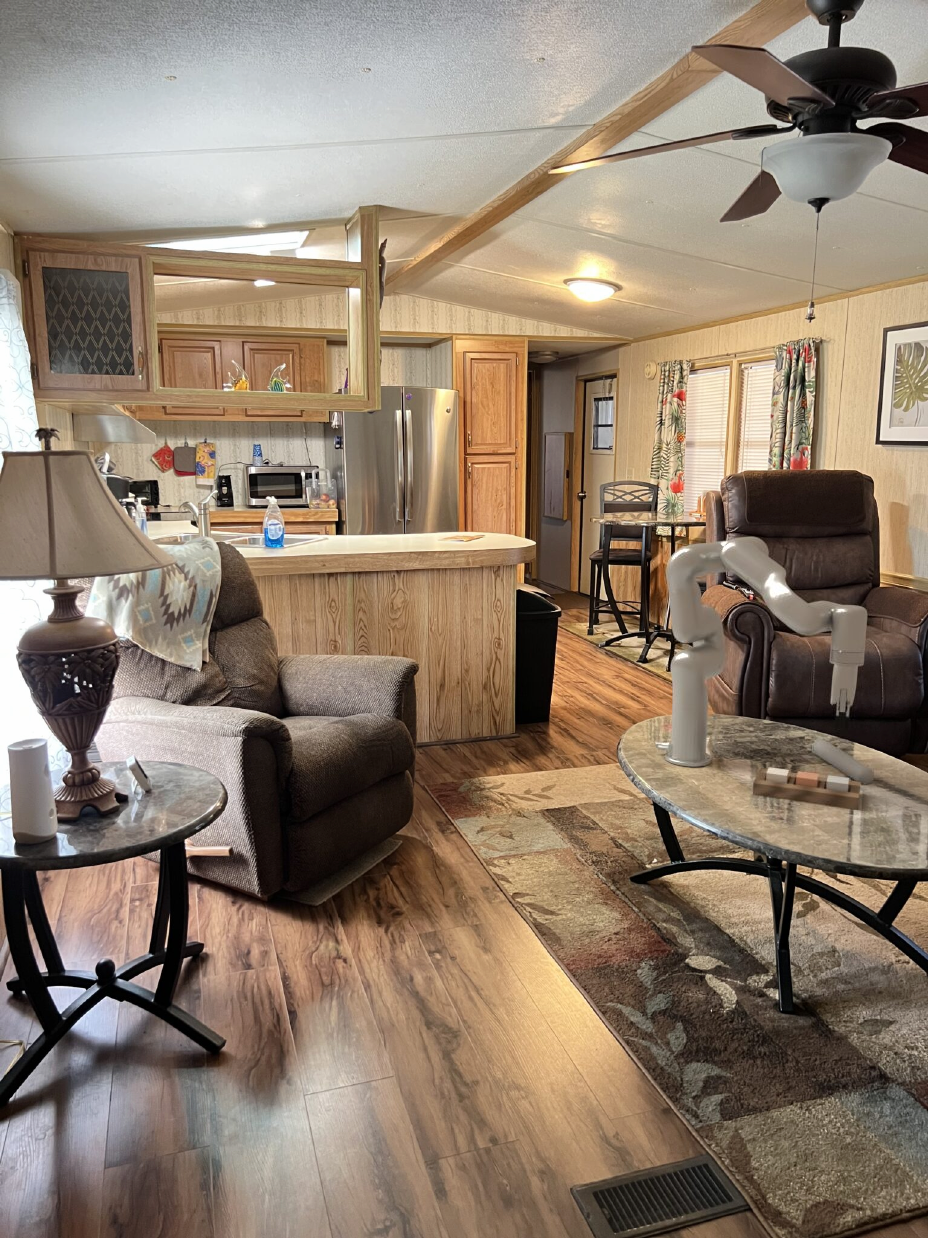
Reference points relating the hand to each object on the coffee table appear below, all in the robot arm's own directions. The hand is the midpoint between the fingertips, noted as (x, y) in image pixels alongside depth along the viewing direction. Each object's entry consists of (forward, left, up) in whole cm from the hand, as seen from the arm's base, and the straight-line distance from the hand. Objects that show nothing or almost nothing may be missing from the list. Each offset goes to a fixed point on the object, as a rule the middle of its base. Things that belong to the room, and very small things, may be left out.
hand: (841, 731), depth 216 cm
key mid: (-7, 0, -15) cm, 17 cm away
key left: (-14, 0, -15) cm, 21 cm away
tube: (0, +24, -18) cm, 30 cm away
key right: (0, 0, -15) cm, 15 cm away
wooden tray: (-7, 0, -17) cm, 18 cm away
